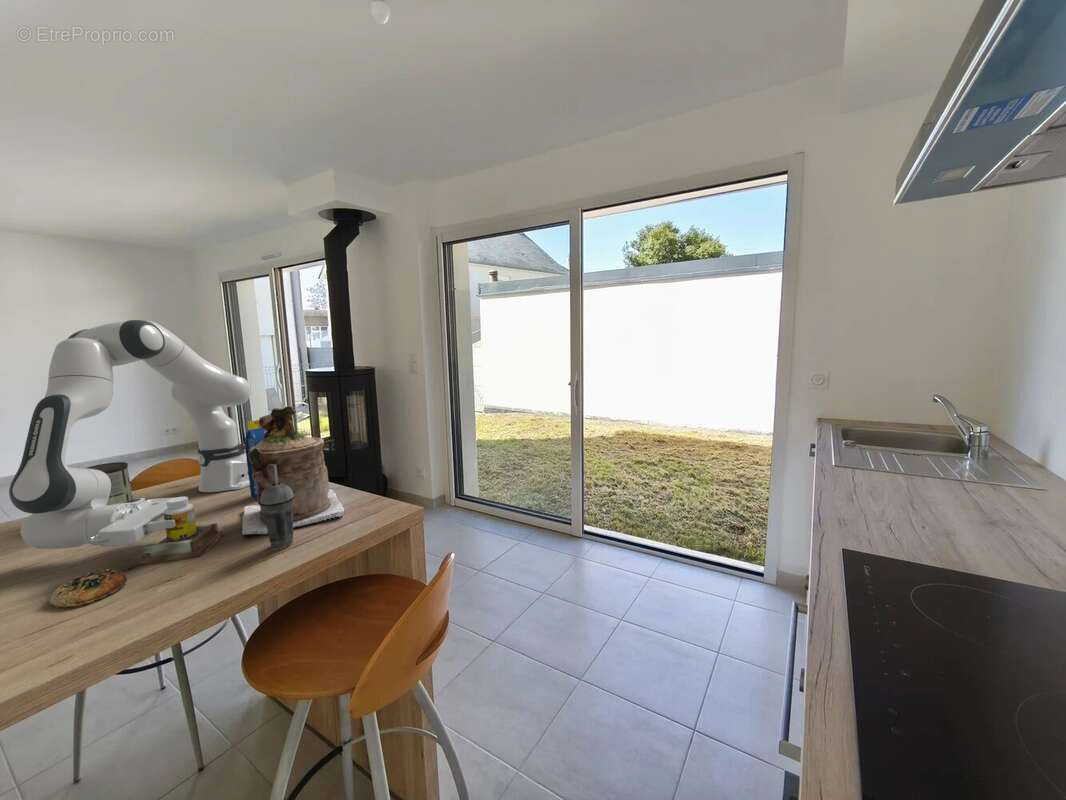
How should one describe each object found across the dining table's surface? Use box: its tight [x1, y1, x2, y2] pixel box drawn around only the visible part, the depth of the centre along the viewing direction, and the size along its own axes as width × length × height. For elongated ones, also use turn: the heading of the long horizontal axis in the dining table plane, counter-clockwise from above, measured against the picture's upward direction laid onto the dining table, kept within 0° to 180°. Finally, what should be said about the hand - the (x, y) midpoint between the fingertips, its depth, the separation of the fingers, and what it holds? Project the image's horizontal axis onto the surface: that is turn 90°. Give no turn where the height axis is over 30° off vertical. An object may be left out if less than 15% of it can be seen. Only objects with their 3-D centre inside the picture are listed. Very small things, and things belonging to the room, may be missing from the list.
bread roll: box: [49, 568, 128, 608], centre depth 86 cm, size 11×11×5 cm
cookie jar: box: [241, 405, 345, 536], centre depth 122 cm, size 25×25×32 cm
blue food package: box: [244, 419, 267, 499], centre depth 141 cm, size 6×12×25 cm, turn 152°
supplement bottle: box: [164, 496, 197, 542], centre depth 104 cm, size 6×6×10 cm
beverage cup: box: [260, 464, 294, 550], centre depth 103 cm, size 7×7×20 cm
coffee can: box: [86, 461, 133, 505], centre depth 128 cm, size 10×10×14 cm
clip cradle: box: [138, 522, 225, 564], centre depth 104 cm, size 12×12×4 cm
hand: (184, 516), depth 104 cm, fingers closed on supplement bottle, 5 cm apart
